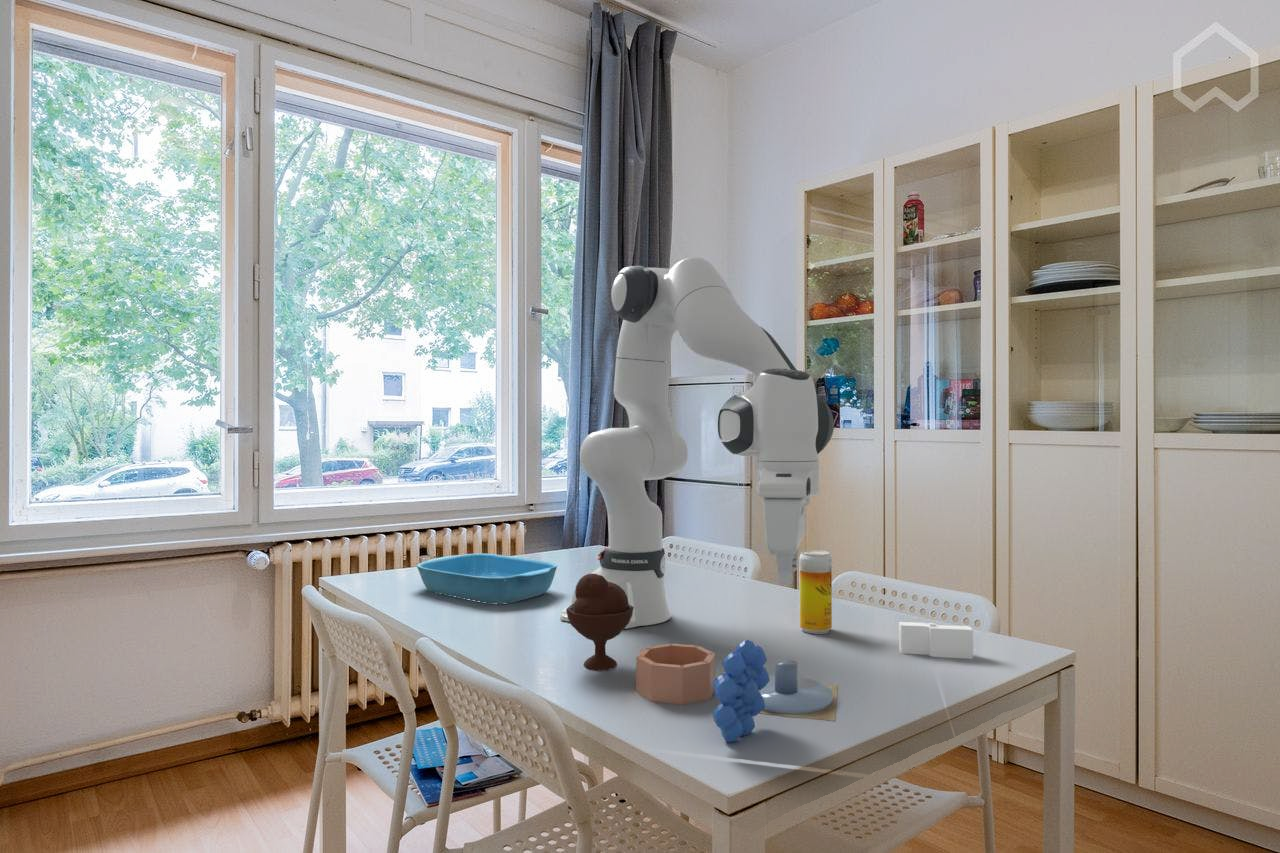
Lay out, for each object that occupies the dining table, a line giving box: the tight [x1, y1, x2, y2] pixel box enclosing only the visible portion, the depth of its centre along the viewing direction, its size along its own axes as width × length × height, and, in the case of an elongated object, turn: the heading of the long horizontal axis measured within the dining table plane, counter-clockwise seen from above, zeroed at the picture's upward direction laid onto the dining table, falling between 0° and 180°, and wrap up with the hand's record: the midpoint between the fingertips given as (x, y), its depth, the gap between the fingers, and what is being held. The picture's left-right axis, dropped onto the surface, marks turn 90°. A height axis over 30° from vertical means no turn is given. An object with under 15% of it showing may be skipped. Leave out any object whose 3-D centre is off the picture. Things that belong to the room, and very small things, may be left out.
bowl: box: [635, 643, 717, 705], centre depth 113 cm, size 11×11×6 cm
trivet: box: [758, 684, 839, 722], centre depth 109 cm, size 14×14×1 cm
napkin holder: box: [898, 621, 974, 660], centre depth 132 cm, size 15×11×6 cm
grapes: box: [712, 639, 770, 744], centre depth 97 cm, size 12×7×12 cm, turn 143°
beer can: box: [798, 549, 833, 635], centre depth 146 cm, size 6×6×15 cm
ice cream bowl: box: [566, 573, 634, 671], centre depth 126 cm, size 11×11×15 cm
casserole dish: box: [416, 552, 558, 605], centre depth 181 cm, size 37×22×7 cm, turn 52°
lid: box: [758, 658, 833, 715], centre depth 109 cm, size 13×13×5 cm
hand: (788, 576), depth 110 cm, fingers open, 8 cm apart
